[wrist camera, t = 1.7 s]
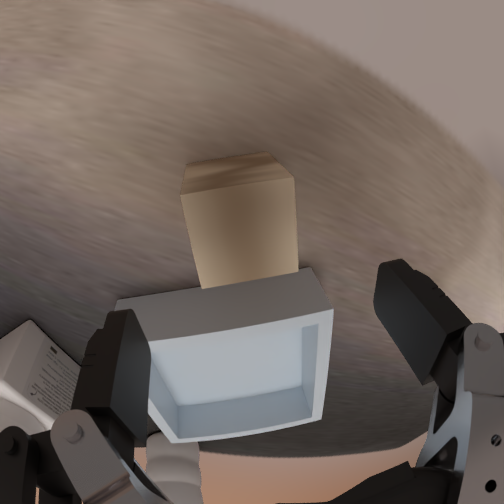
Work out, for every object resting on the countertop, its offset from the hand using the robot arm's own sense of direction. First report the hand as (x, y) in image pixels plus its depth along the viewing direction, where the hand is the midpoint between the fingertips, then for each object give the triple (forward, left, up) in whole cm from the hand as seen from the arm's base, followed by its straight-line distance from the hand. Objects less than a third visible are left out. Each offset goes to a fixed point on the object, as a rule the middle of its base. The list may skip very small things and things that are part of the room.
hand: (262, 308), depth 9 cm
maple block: (0, 0, -11) cm, 11 cm away
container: (+22, +12, -12) cm, 28 cm away
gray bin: (+2, +14, -11) cm, 18 cm away
